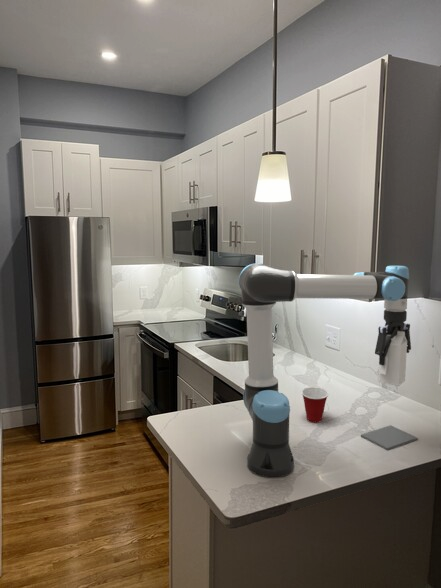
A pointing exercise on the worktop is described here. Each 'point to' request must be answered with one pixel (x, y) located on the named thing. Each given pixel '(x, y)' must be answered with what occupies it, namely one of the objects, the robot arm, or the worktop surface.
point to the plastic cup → (314, 402)
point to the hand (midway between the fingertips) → (392, 371)
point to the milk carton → (396, 361)
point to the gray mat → (389, 437)
